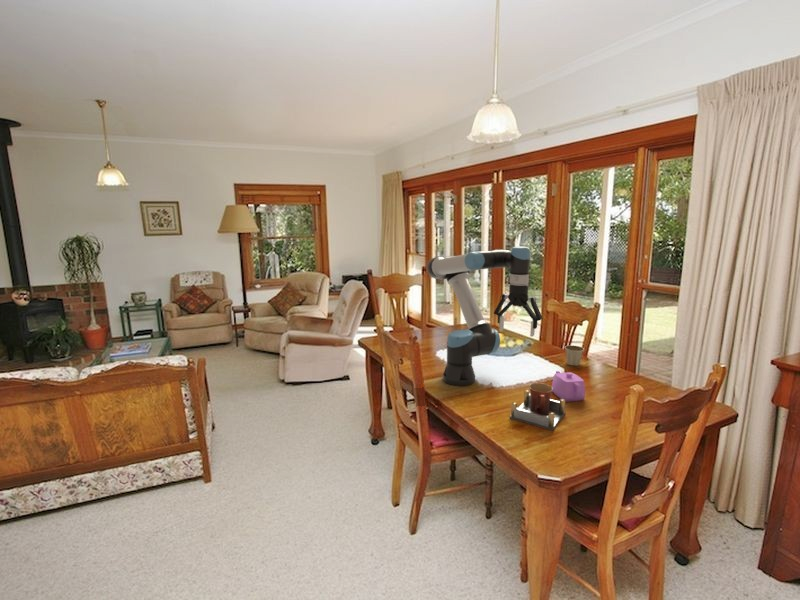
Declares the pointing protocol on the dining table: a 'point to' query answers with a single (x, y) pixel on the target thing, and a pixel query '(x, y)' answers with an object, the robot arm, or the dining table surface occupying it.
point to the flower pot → (573, 354)
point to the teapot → (568, 386)
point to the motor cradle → (537, 419)
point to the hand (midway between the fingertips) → (516, 333)
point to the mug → (540, 398)
